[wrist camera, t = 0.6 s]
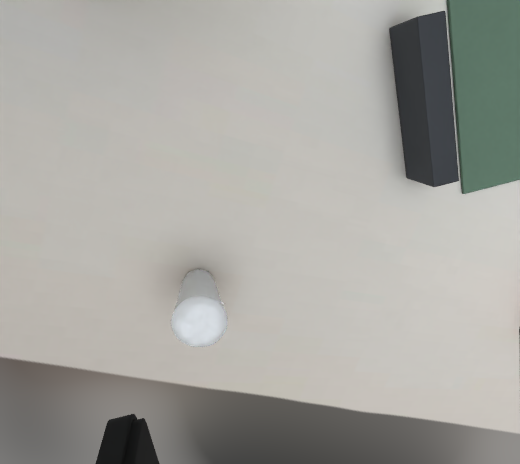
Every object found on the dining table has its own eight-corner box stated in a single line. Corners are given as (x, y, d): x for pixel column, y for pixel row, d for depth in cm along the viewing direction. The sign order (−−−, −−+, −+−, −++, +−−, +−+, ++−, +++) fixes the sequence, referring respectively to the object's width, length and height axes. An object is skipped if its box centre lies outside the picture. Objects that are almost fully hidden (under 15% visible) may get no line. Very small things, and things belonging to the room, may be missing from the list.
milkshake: (235, 270, 43) (246, 316, 34) (205, 312, 44) (208, 369, 35) (196, 247, 42) (197, 287, 33) (166, 290, 43) (158, 342, 33)
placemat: (445, -22, 39) (447, -23, 38) (577, -51, 40) (581, -52, 39) (461, 193, 45) (464, 194, 44) (577, 163, 46) (580, 164, 45)
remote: (388, 28, 39) (417, 16, 34) (415, 22, 39) (447, 9, 34) (406, 178, 43) (433, 187, 38) (430, 172, 44) (460, 180, 39)
